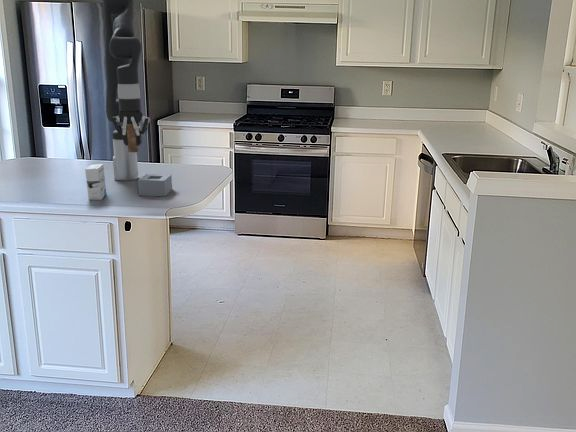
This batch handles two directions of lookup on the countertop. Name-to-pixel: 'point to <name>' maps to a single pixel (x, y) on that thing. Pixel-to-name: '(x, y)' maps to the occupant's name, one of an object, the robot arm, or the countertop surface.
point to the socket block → (155, 185)
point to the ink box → (95, 182)
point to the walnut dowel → (131, 138)
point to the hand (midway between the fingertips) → (133, 145)
